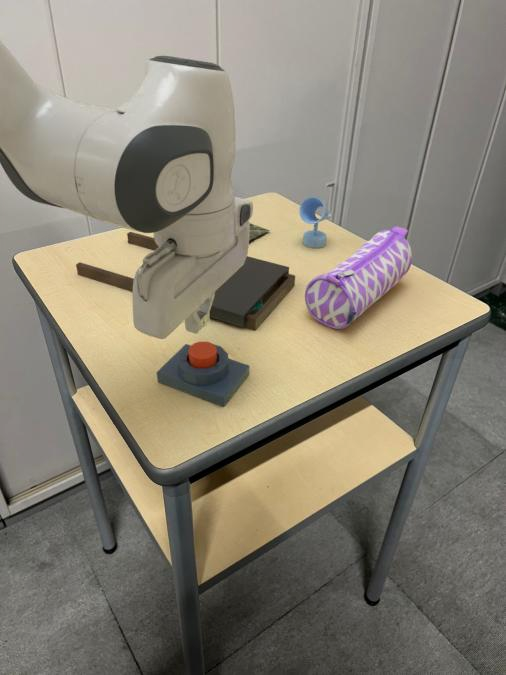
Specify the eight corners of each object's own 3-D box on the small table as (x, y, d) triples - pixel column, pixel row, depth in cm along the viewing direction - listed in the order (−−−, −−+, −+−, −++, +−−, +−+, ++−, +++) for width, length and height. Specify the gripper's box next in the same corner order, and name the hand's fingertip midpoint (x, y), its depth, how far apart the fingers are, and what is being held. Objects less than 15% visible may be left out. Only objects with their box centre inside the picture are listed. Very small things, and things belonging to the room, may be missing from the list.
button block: (157, 382, 68) (155, 361, 66) (186, 353, 73) (185, 333, 71) (223, 407, 64) (223, 386, 62) (249, 375, 69) (249, 354, 67)
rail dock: (77, 274, 90) (75, 264, 89) (131, 240, 101) (130, 231, 99) (255, 330, 78) (255, 319, 76) (294, 285, 88) (295, 275, 87)
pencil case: (348, 343, 76) (357, 287, 70) (295, 320, 80) (300, 266, 74) (410, 283, 90) (422, 233, 84) (362, 266, 94) (370, 218, 89)
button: (183, 364, 66) (182, 353, 65) (198, 348, 69) (198, 338, 68) (207, 372, 65) (207, 362, 64) (222, 357, 67) (221, 346, 66)
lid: (149, 298, 83) (146, 269, 80) (204, 255, 95) (203, 229, 92) (243, 327, 77) (243, 298, 74) (288, 278, 89) (290, 251, 86)
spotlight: (318, 253, 98) (331, 239, 103) (323, 203, 92) (337, 191, 97) (294, 247, 100) (308, 234, 105) (298, 197, 94) (313, 186, 99)
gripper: (164, 272, 48) (173, 384, 56) (259, 198, 62) (255, 295, 71) (109, 256, 50) (125, 366, 58) (214, 188, 65) (215, 283, 73)
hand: (197, 326), depth 64 cm, fingers closed
